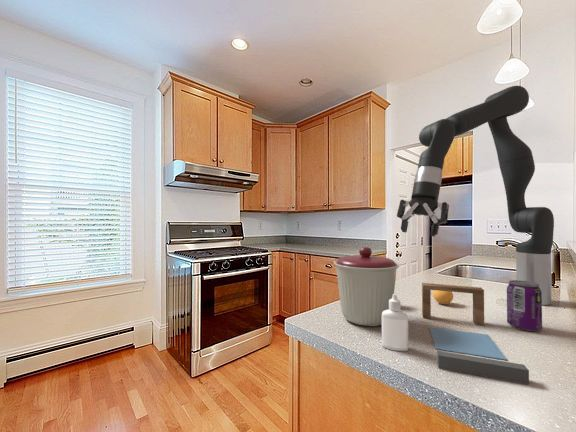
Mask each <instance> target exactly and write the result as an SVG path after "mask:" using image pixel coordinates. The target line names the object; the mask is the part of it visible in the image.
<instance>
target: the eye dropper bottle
mask: <svg viewBox="0 0 576 432" xmlns="http://www.w3.org/2000/svg"><path fill="white" fill-rule="evenodd" d="M381 346H382V347H383V348H385V349H388V350H391V351H397V352H407V351H408V350H409V316H408V314H407V313H406V312H405V311H403V310H401V300H399V299H398V297H397V294H395V293H394V294H393V297H392V299H390V300H389V309H388V310H384V311H383V312H382V325H381Z"/></svg>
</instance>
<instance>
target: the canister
mask: <svg viewBox="0 0 576 432" xmlns="http://www.w3.org/2000/svg"><path fill="white" fill-rule="evenodd" d="M358 253H359V254H358V255H357V254H356V255H345V256H341V257H339V258H338V259H336V260H334V261H333V265H335V266H336V267H335V268H336V277H337V284H338V285H337V286H338V295H339V301H340V302H339V303H340V308H341V313H342V316H343V317H344V318H345V319H346V320H347V321H348V322H350V323H352V324H355V325H359V326H365V327H378V326H382V312H383V311H384V310H388V309H389V300H390V299H392V297H393V294H395V288H396V279H397V278H396V277H397V269H398V268H400V264H399V263H397V262H395V260H393V259H391V258H388V257H385V256H380V255H379V256H378V255H372V253H373V251H372V249H371V248H370V247H368V246H363V247H360V249H359V250H358Z"/></svg>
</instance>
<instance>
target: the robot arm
mask: <svg viewBox="0 0 576 432" xmlns="http://www.w3.org/2000/svg"><path fill="white" fill-rule="evenodd" d="M529 101H530V96H529V92H528V90H527V89H526V88H525V87H523V86H521V85H512V86H509V87H506V88H504V89H502V90H500V91H497V92H496V93H495V92H494V93H493V94H491V95H488V97H486V99H484V102H482V103H479V104H476V105H474V106H471V107H468V108H466V109H463V110H461V111H458V112H455V113H453V114H451V115H449V116H448V117H447V118H442V119H439V120H436V121H435V122H432V123H430V124H428V125H426V126H424V127H423V128H422V129H421V130H420V132H419V134H418V140H419V143H420V144H421V145H422V146H425V147H427V148H426V149H424V150H423V151H422V152H421V153H420V156H419V160H418V165H417V168H416V169H417V170H416V172H415V176H414V179H413V186H412V187H413V188H412V191H411V198H410V200H404V199H401V200H400V201H399V204H398V209H397V213H396V217H397V218H399V219H400V220H401V224H400V230H401V232H402V233H407V232H408V228H409V227H408V226H409V220H410V219H411V218H413V217H414V216H425V217H428V216H429V218H430V219H431V220H432V222H433V223H432V224H431V228H430V229H431V230H430V234H429V235H430V237H433V238H434V237H436V236H437V235H438V234H439V228H440V225H442V224H447V223H448V217H449V208H450V205H449V203H448V202H446V201H443V202H439V196H440V191H441V186H442V180H443V169H444V164H445V163H444V162H445V157H446V156H447V154H448V153H449V150H450V148H451V145H452V144H453V141H454V138H455V137H458V136H461V135H463V134H466V133H469V132H470V131H472V130H475V129H476V128H478V127H480V126H483V125H485V124H486V123H487V125H488V128H489V130H490V133H491V136H492V139H493V143H494V146H495V151H496V154H497V161H498V165H499V169H500V173H501V177H502V181H503V185H504V186H503V187H504V191H505V195H506V196H505V197H506V202H507V203H506V204H507V214H508V215H507V216H508V221H509V224H510V227H511V229H512V230H513V231H514V232H515V233H521V234H531V237H530V239H528V240H525V241H522V242H519V243H517V244H516V245H515V265H516V266H515V269H516V270H515V273H516V274H515V280H519V281H528V282H533V283H537V284H539V288H540V290H541V292H542V306H550V305H552V301H553V300H552V290H553V289H552V247H553V244H554V230H555V229H554V227H555V217H554V213H553V212H552V210H551V209H550V208H548V207H546V206H534V207H533V206H532V207H531V206H528V207H527V206H526V199H525V196H526V195H525V194H526V191H527V188H528V186H529V184H530V182H531V180H532V178H533V176H534V174H535V170H536V165H535V160H534V156H533V151H532V149H531V148H530V147H529V146H528V144H526V143H525V142H524V141H523V140H522V139H521V138H519V136H517V135H516V134H515V133H514V132H513V131H512V129H511V127H510V124H509V122H508V118H509V117H511V116H514V115H517V114H518V113H520V112H523V111H524V110H525V109H526V107H528V105H529ZM408 206H409V209H408V210H406V208H407V207H408ZM438 208H439V210H440V218H438V216H437V214H436V212H435V211H436V210H437V209H438Z"/></svg>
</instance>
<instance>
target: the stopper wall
mask: <svg viewBox="0 0 576 432" xmlns="http://www.w3.org/2000/svg"><path fill="white" fill-rule="evenodd" d="M436 355H437V356H436V360H437V362H436V363H437V367H438V369H442V370H447V371H451V372H458V373H463V374H470V375H473V376H480V377H484V378H490V379H491V378H492V379H495V380H496V379H497V380H502V381H506V382H513V383H518V384H523V385H528V384H529V385H530V370H529V369H528V368H527V366H526V365H525V364H523V363H515V362H509V361H505V360H499V359H493V358H487V357H480V356H474V355H468V354H462V353H456V352H449V351H443V350H436Z"/></svg>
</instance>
